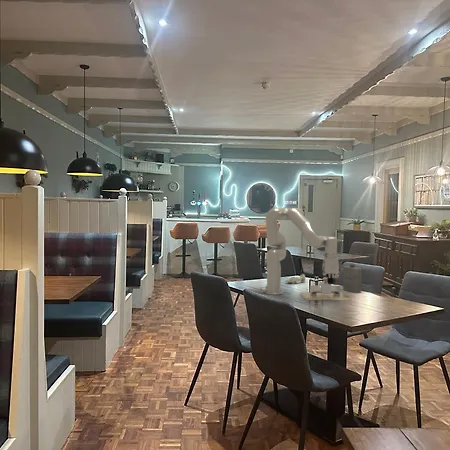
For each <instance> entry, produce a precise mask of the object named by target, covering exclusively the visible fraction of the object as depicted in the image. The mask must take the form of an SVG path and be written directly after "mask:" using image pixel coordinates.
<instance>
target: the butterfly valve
mask: <svg viewBox="0 0 450 450" xmlns="http://www.w3.org/2000/svg"><path fill="white" fill-rule="evenodd" d="M298 264H299V266H300V267H299V268H300V271H301V274H300V276H299V277H298V276H297V277H296V276H291V277H290V278H287V279H286V280H285V281H284V283H288V284H294V283H295V284H297V282H301V283H302V282H303V283H305V282H306V274H305V271H304V268H303V263H302V259H301V257H298ZM295 284H294V285H295Z"/></svg>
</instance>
